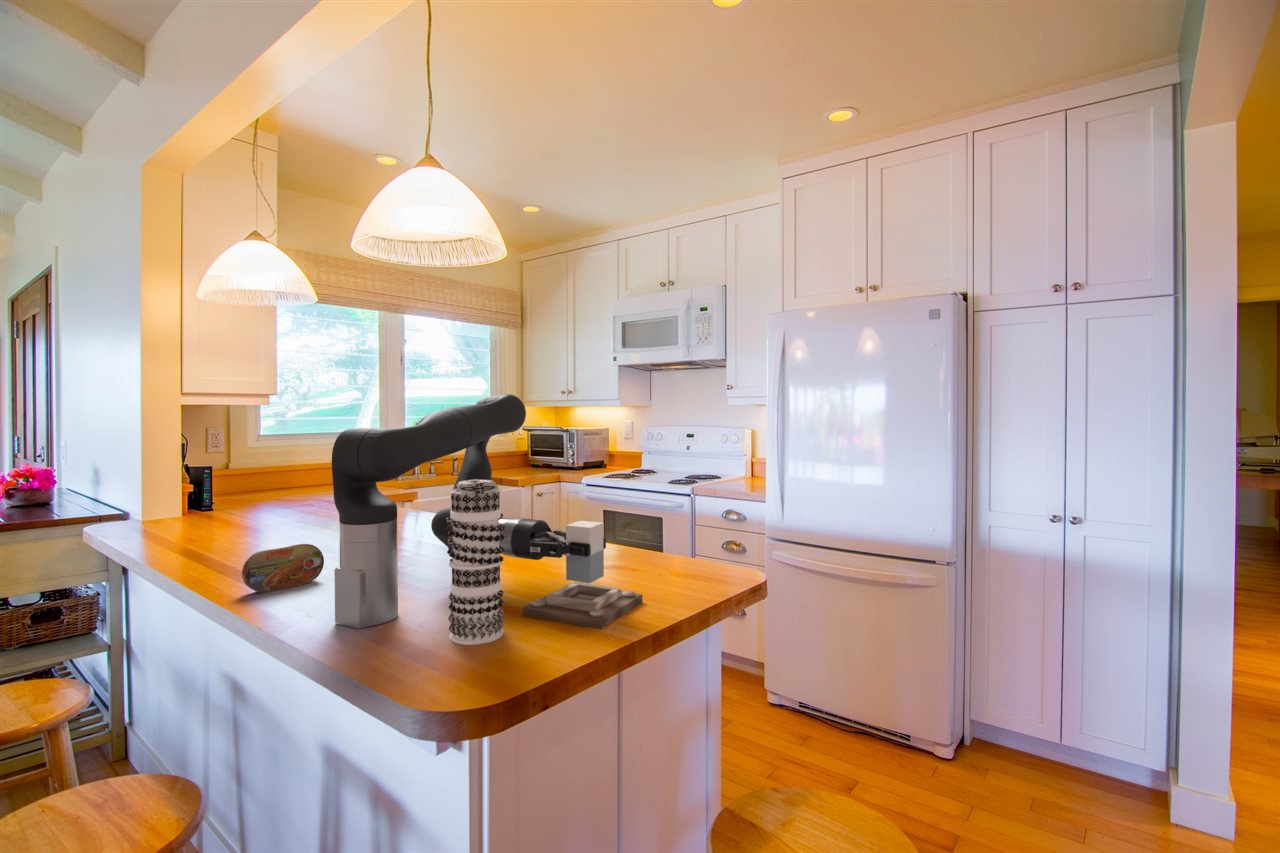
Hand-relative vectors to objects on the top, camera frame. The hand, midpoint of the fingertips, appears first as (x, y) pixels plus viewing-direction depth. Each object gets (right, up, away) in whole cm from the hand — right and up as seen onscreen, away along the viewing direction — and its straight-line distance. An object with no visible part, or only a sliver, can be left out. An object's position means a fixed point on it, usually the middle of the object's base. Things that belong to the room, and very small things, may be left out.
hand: (597, 546), depth 110 cm
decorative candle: (-19, -12, -12) cm, 25 cm away
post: (-2, -6, +1) cm, 7 cm away
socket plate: (-2, -12, +1) cm, 12 cm away
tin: (-66, -11, +15) cm, 68 cm away
